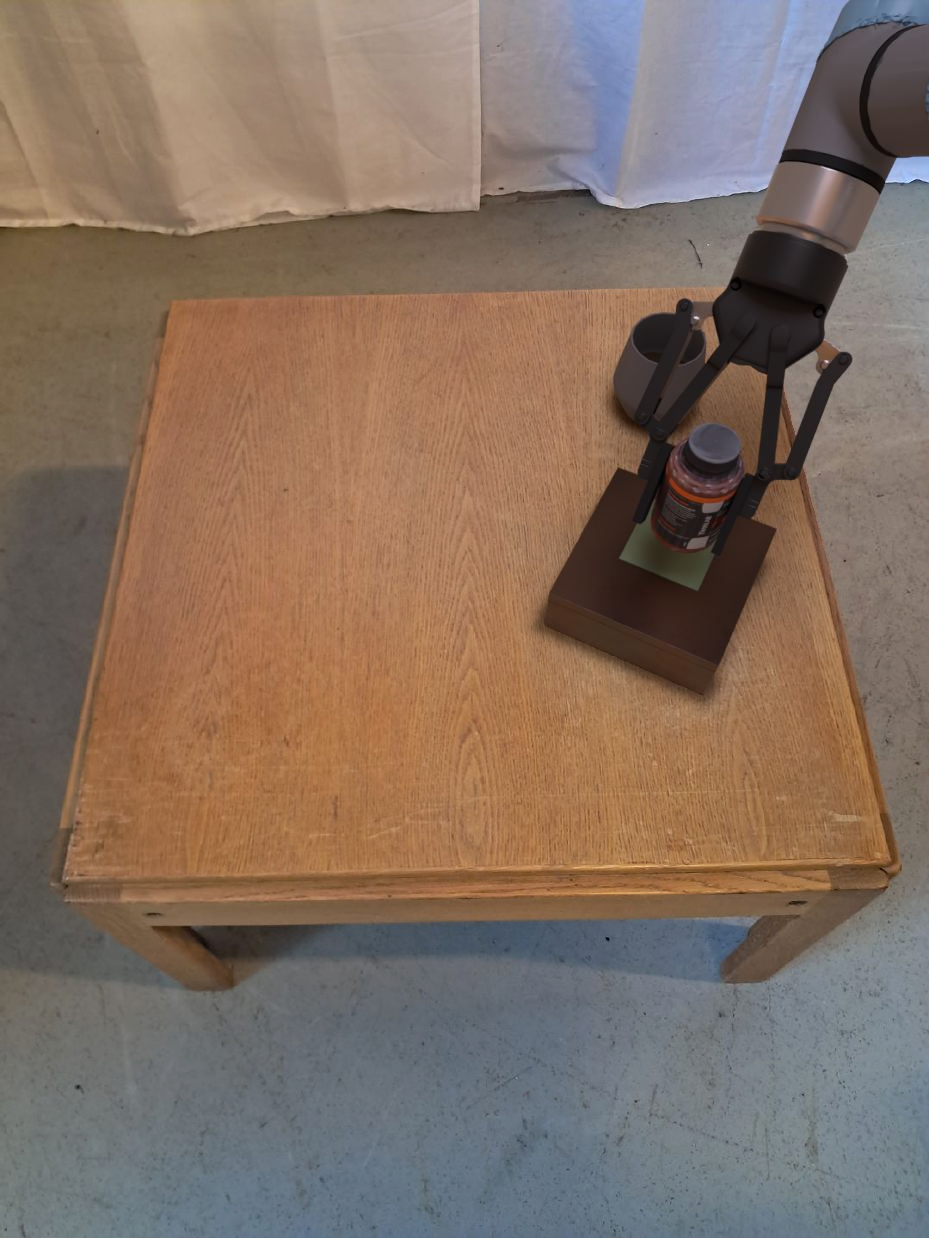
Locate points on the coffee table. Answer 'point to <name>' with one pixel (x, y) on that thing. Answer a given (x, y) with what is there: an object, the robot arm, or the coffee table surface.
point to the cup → (655, 362)
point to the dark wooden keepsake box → (654, 589)
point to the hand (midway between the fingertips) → (677, 535)
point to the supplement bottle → (698, 488)
